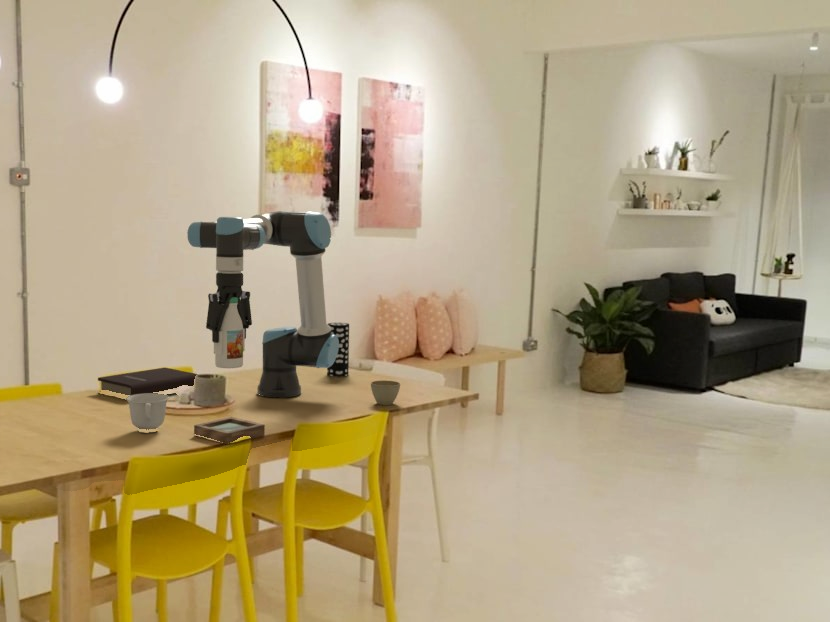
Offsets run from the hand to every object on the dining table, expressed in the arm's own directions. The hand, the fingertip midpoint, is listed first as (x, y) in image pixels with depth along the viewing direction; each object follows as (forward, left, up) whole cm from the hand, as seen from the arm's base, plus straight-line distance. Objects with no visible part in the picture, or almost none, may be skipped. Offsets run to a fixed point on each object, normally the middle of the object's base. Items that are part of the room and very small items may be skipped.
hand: (229, 352), depth 265 cm
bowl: (+6, +64, -25) cm, 69 cm away
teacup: (-20, -13, -24) cm, 34 cm away
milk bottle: (0, 0, -4) cm, 4 cm away
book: (-66, +23, -25) cm, 74 cm away
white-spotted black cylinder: (-40, +92, -24) cm, 104 cm away
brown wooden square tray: (0, 0, -24) cm, 24 cm away
